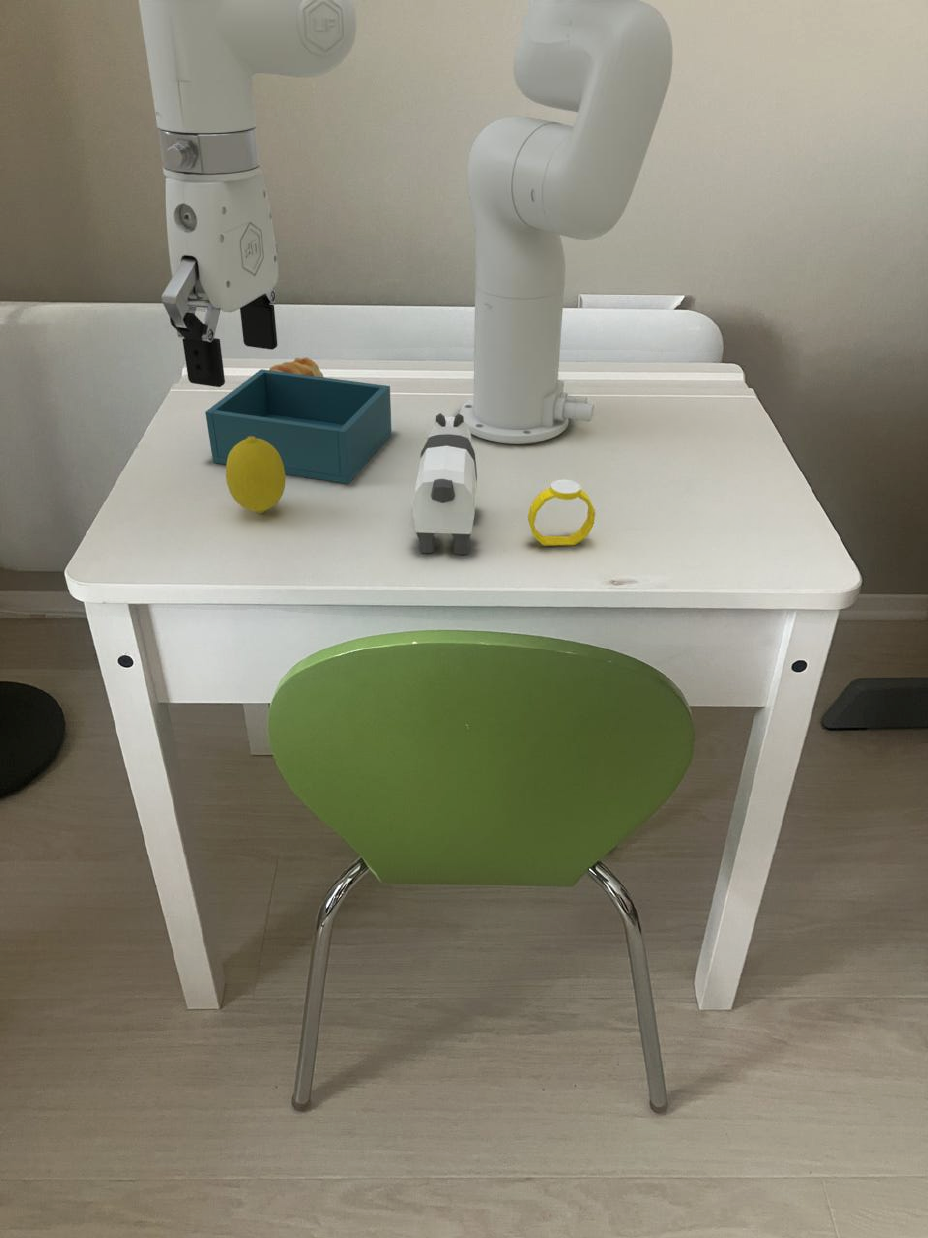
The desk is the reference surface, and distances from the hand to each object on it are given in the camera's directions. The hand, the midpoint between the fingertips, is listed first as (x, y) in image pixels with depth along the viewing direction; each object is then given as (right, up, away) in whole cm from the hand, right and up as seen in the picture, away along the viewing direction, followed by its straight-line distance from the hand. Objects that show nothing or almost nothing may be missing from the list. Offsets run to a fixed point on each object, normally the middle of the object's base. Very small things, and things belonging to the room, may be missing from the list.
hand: (235, 364), depth 86 cm
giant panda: (+19, -14, +7) cm, 24 cm away
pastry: (-1, +5, +33) cm, 33 cm away
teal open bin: (+3, -4, +21) cm, 21 cm away
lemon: (0, -12, +9) cm, 15 cm away
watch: (+29, -16, +5) cm, 33 cm away
